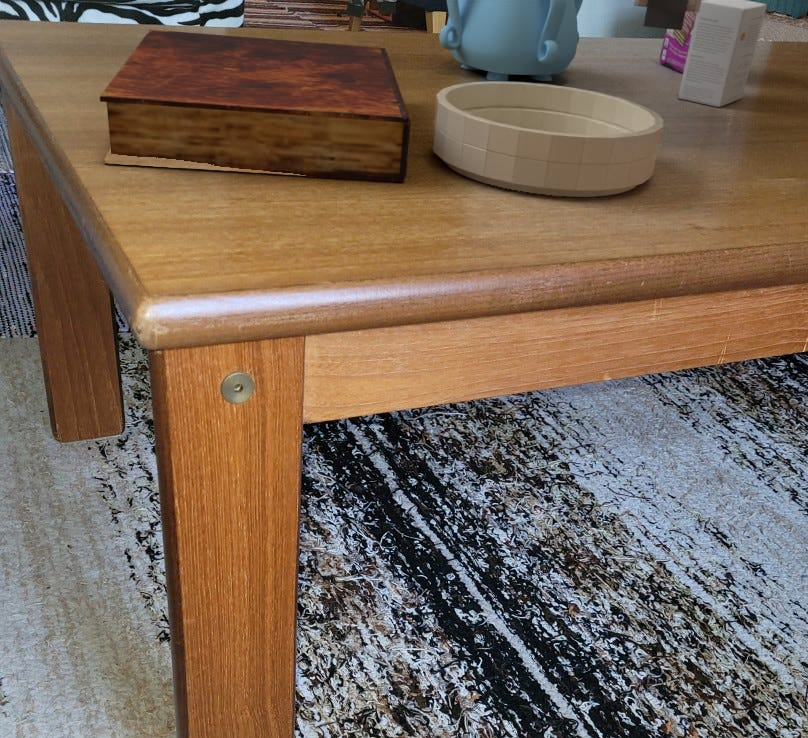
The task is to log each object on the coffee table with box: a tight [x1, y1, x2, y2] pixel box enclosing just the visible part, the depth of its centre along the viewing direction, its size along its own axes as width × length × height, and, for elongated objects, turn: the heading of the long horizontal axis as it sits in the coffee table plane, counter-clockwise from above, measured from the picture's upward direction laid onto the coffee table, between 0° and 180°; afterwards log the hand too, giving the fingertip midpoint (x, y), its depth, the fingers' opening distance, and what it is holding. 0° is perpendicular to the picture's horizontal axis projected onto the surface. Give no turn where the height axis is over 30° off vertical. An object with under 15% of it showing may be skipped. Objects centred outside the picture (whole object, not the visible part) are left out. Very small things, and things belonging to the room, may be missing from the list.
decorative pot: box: [438, 0, 584, 82], centre depth 118 cm, size 16×16×14 cm
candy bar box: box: [658, 0, 749, 74], centre depth 129 cm, size 11×5×16 cm, turn 17°
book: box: [99, 29, 412, 184], centre depth 90 cm, size 30×24×5 cm
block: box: [643, 0, 688, 30], centre depth 104 cm, size 4×4×4 cm
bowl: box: [431, 80, 664, 198], centre depth 87 cm, size 20×20×5 cm
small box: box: [677, 0, 768, 108], centre depth 117 cm, size 8×6×10 cm
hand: (666, 8), depth 105 cm, fingers closed on block, 4 cm apart
